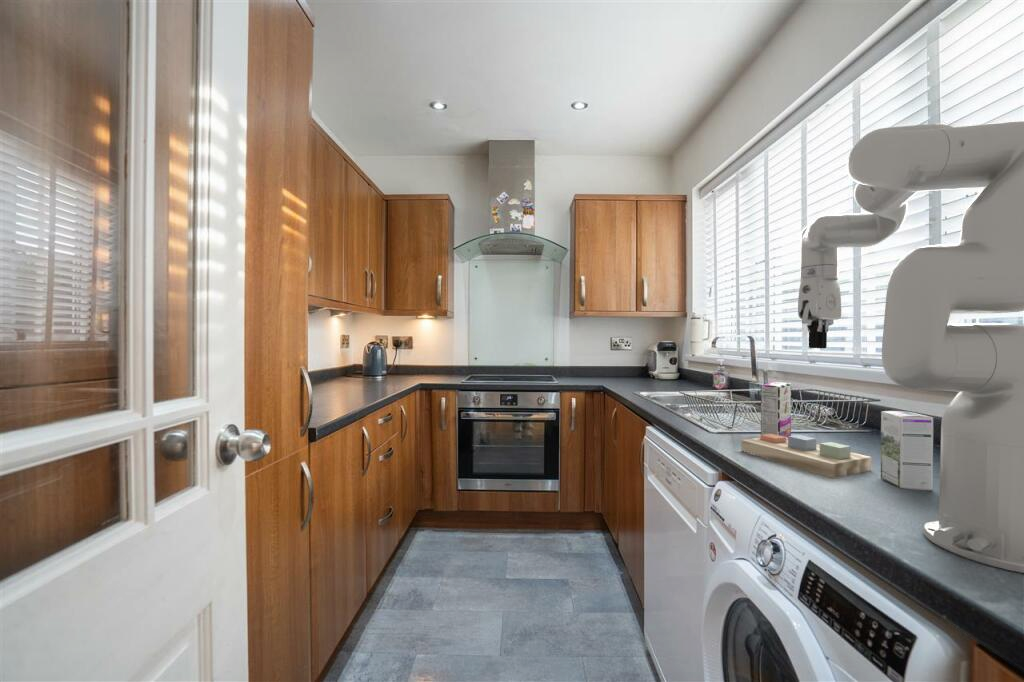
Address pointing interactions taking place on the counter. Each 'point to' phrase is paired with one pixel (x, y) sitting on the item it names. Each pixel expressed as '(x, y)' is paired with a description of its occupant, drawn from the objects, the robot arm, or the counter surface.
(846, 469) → the button panel
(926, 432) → the syrup box
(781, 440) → the terracotta button
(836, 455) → the sage green button
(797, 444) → the slate grey button
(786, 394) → the candy bar box
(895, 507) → the counter surface
